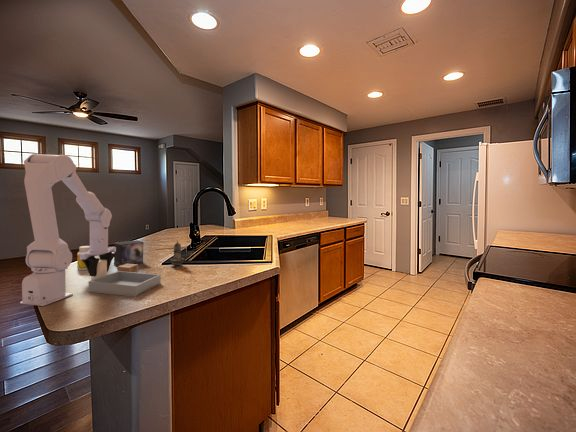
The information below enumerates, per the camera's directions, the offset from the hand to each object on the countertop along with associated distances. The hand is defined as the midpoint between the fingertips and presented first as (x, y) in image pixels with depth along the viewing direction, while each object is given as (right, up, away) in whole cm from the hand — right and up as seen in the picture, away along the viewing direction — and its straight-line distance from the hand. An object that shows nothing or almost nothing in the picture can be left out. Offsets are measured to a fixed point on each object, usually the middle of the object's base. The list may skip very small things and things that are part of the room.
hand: (99, 273), depth 102 cm
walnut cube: (+9, -2, +3) cm, 10 cm away
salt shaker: (+21, -2, +21) cm, 30 cm away
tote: (+15, -3, -8) cm, 18 cm away
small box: (-2, -1, +23) cm, 23 cm away
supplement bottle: (-15, -1, +12) cm, 19 cm away
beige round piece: (0, -2, 0) cm, 2 cm away
